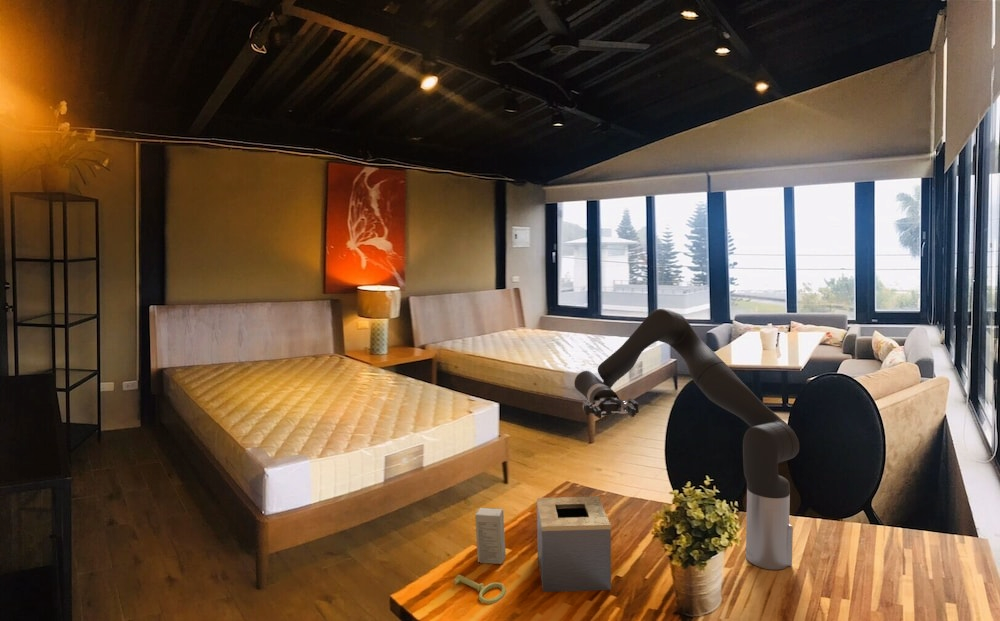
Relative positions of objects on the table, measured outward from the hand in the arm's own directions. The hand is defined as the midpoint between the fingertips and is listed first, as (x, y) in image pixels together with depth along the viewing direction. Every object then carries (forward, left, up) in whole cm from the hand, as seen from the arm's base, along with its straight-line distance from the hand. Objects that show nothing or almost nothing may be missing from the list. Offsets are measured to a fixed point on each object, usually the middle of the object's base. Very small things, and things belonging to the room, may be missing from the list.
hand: (616, 413), depth 148 cm
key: (+35, +22, -34) cm, 53 cm away
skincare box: (+33, +9, -33) cm, 48 cm away
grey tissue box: (+14, +16, -33) cm, 39 cm away
